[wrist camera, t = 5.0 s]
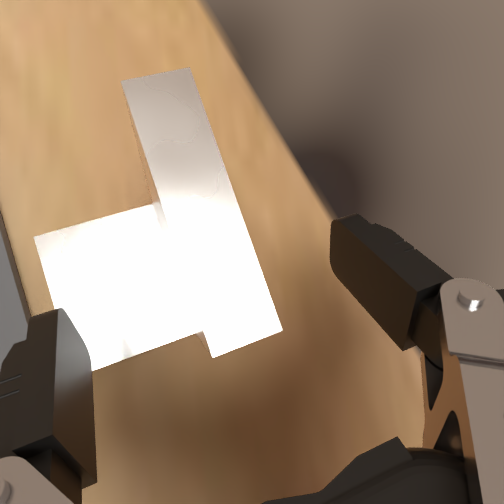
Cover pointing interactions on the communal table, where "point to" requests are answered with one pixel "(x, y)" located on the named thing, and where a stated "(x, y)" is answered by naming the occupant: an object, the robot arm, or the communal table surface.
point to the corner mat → (10, 299)
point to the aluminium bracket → (163, 243)
